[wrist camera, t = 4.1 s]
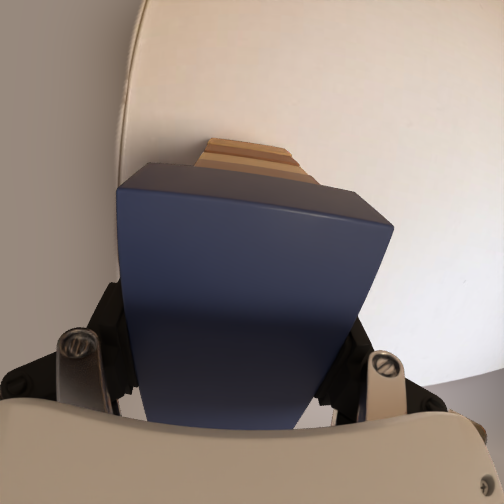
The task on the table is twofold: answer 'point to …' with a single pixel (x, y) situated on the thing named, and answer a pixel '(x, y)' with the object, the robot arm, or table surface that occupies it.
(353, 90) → the table surface
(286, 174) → the tan books
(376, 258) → the navy book
